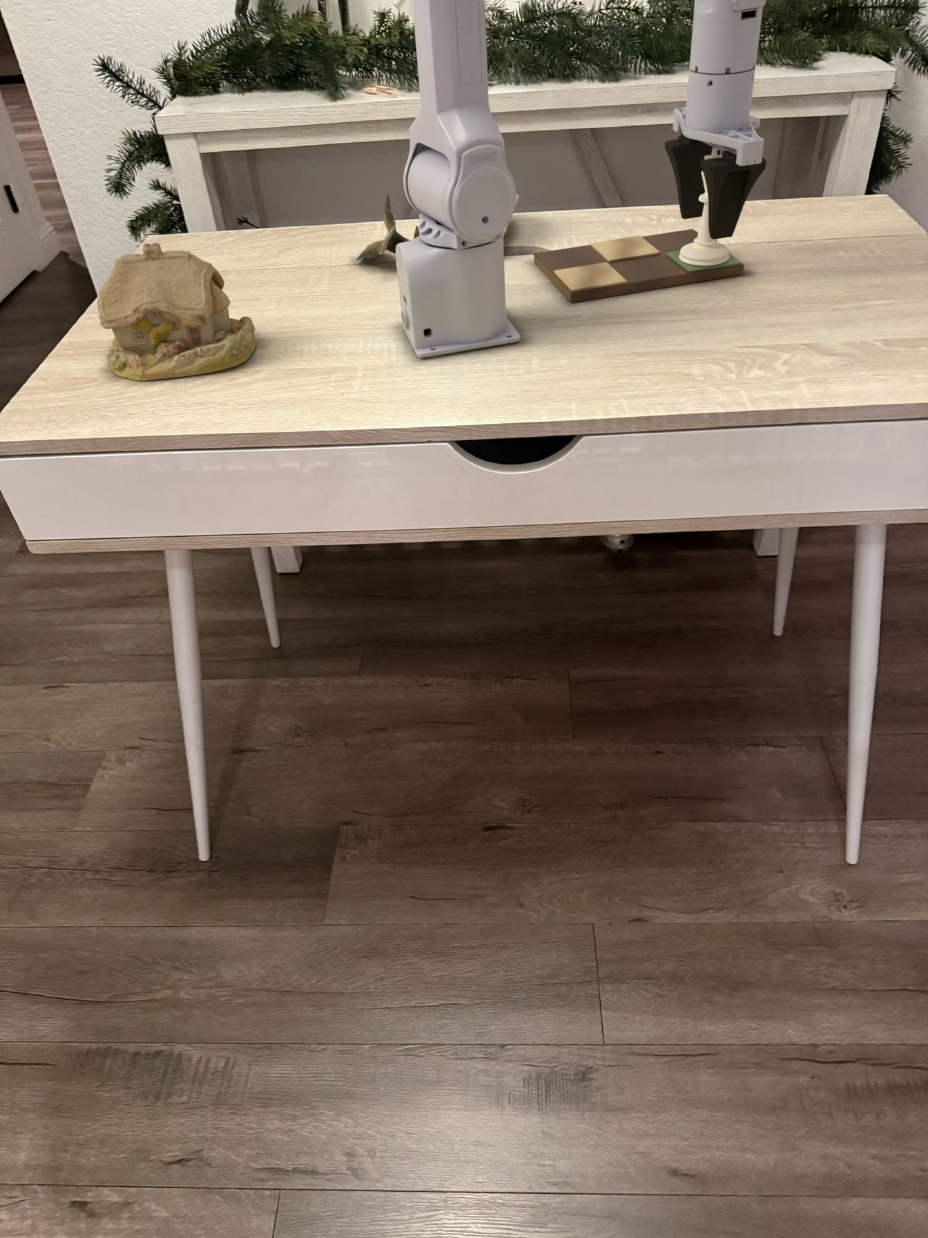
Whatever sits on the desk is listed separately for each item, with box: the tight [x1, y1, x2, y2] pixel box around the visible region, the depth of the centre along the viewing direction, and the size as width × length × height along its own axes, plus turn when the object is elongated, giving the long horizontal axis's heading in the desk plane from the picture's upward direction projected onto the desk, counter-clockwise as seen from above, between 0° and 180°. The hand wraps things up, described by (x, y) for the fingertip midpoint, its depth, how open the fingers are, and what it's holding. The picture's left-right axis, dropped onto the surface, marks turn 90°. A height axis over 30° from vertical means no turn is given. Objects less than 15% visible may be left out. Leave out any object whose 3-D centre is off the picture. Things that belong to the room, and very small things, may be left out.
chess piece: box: [679, 148, 730, 266], centre depth 89 cm, size 5×5×10 cm
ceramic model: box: [96, 242, 256, 382], centre depth 82 cm, size 14×11×10 cm
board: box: [533, 228, 745, 303], centre depth 94 cm, size 18×12×1 cm, turn 104°
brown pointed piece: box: [356, 193, 419, 261], centre depth 98 cm, size 8×7×9 cm
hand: (706, 226), depth 90 cm, fingers open, 6 cm apart
